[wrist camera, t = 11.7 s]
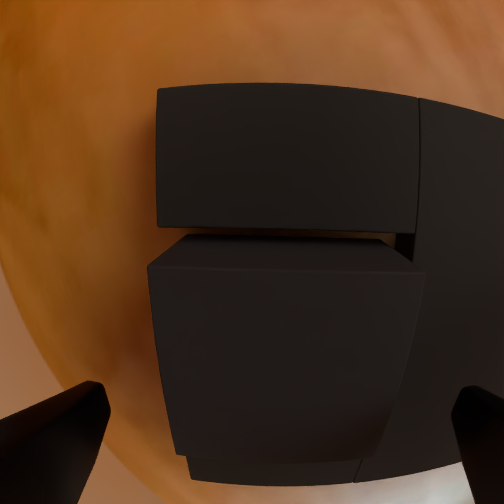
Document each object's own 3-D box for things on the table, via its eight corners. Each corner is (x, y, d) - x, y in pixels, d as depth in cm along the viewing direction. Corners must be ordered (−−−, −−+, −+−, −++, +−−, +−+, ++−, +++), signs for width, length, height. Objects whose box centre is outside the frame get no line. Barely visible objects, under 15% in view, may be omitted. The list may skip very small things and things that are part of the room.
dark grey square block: (197, 390, 12) (175, 455, 8) (186, 233, 10) (145, 265, 7) (354, 394, 11) (374, 459, 8) (380, 238, 10) (427, 271, 6)
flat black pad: (196, 457, 13) (190, 480, 11) (172, 99, 9) (156, 88, 8) (532, 416, 12) (542, 430, 10) (596, 166, 8) (615, 169, 6)
